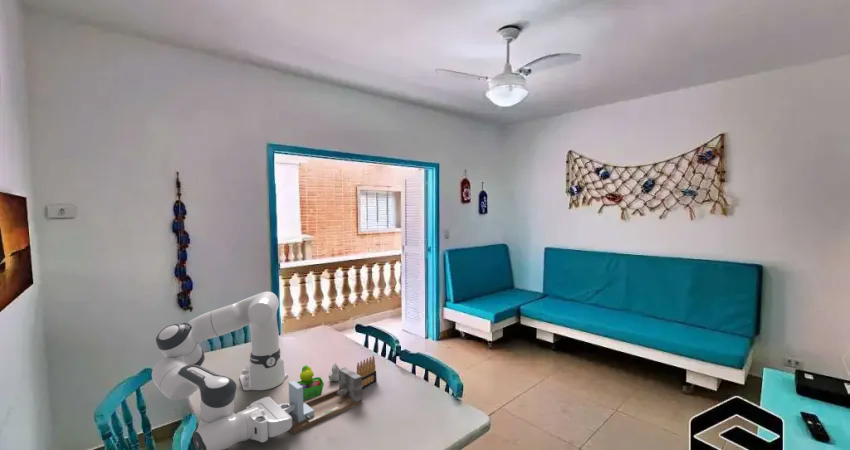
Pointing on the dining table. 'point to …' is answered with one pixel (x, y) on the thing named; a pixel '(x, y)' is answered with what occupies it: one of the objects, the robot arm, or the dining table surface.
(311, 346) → the dining table surface
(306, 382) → the fruit basket
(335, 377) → the grey figurine
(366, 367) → the ammunition clip
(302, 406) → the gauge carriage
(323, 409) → the base
